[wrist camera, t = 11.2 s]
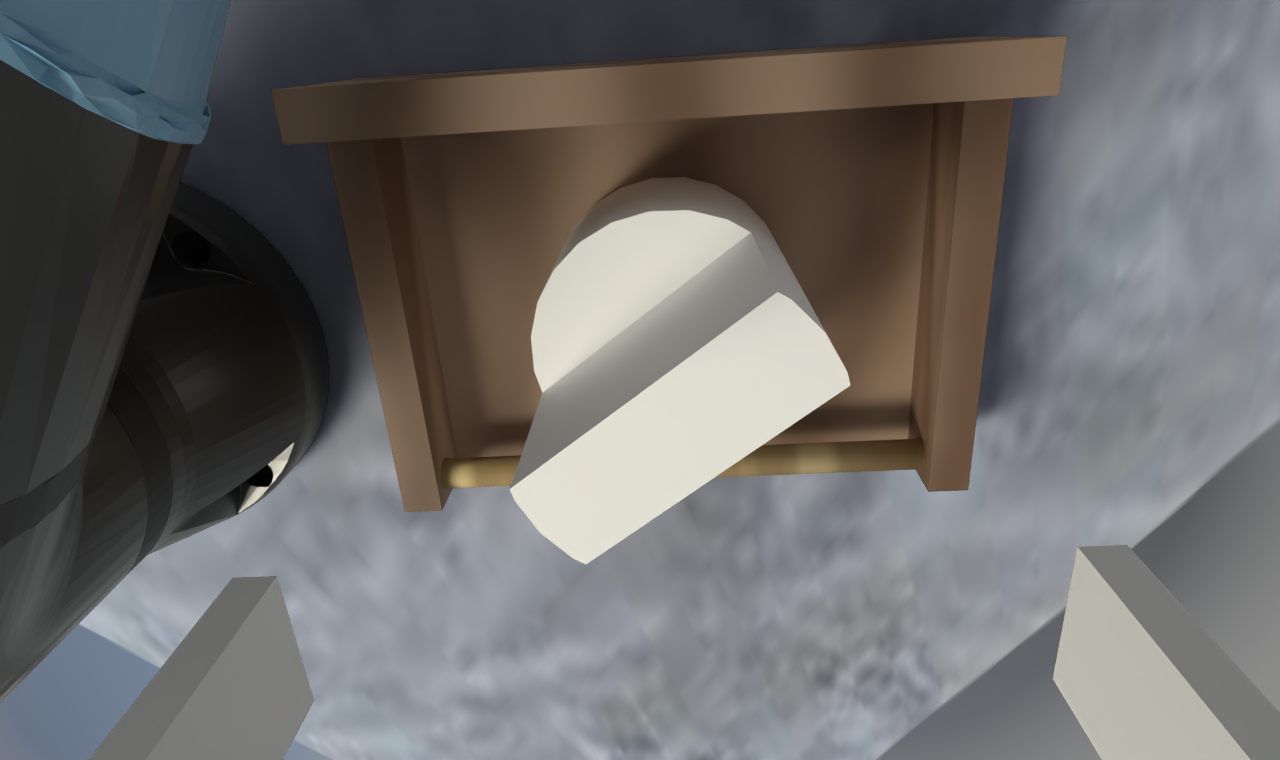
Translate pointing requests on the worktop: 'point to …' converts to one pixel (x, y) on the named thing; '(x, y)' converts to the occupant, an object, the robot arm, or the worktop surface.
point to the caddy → (701, 150)
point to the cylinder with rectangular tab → (662, 360)
